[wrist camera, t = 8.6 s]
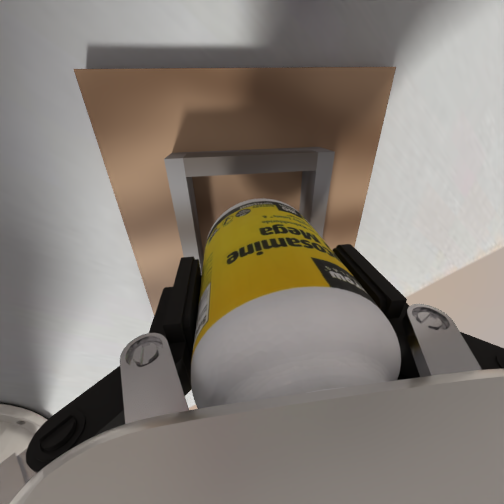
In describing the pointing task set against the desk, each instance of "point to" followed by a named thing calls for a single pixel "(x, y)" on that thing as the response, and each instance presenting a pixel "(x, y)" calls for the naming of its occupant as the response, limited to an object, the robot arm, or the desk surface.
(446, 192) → the desk surface
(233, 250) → the pill bottle
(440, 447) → the robot arm
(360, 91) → the carrier plate
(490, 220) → the desk surface
